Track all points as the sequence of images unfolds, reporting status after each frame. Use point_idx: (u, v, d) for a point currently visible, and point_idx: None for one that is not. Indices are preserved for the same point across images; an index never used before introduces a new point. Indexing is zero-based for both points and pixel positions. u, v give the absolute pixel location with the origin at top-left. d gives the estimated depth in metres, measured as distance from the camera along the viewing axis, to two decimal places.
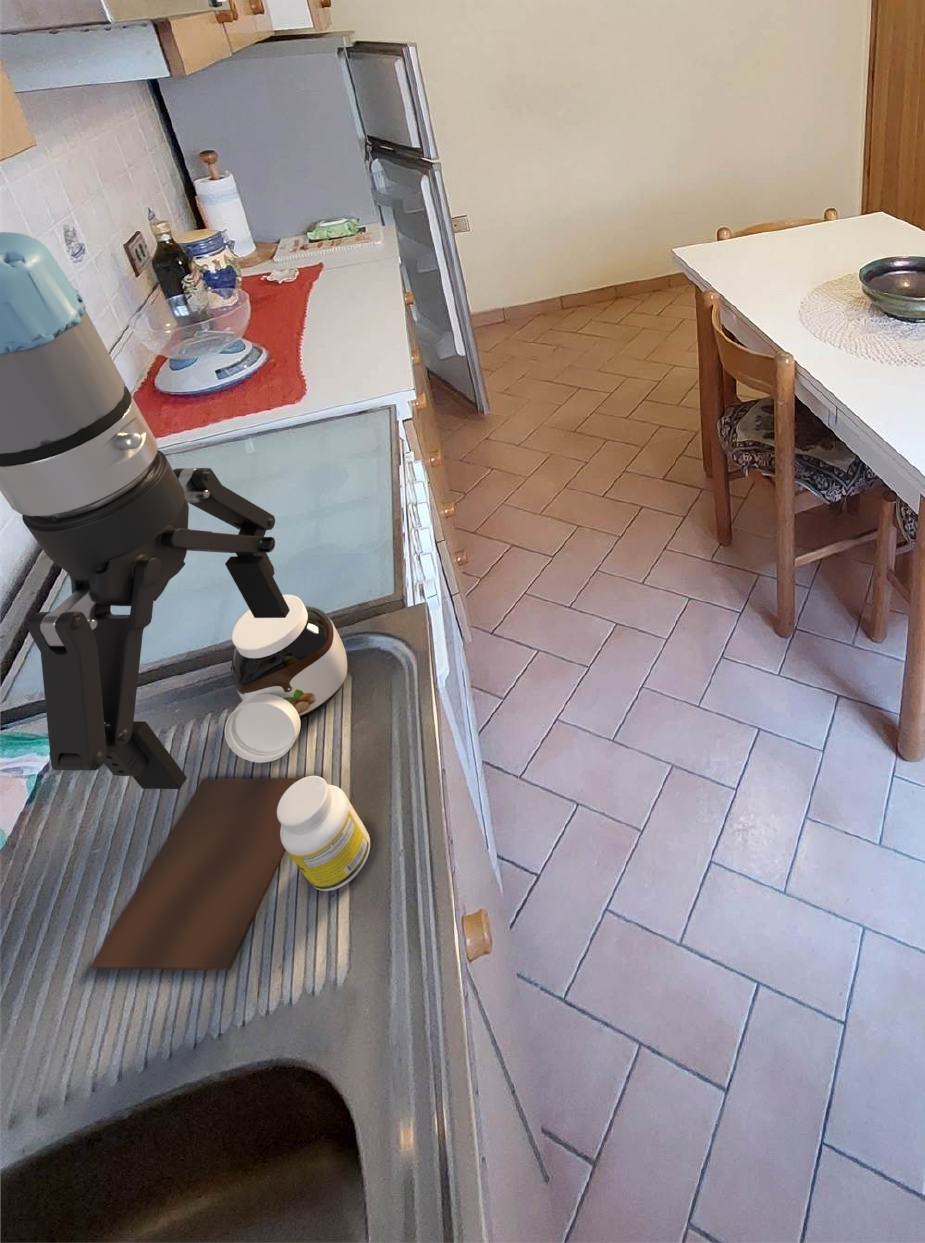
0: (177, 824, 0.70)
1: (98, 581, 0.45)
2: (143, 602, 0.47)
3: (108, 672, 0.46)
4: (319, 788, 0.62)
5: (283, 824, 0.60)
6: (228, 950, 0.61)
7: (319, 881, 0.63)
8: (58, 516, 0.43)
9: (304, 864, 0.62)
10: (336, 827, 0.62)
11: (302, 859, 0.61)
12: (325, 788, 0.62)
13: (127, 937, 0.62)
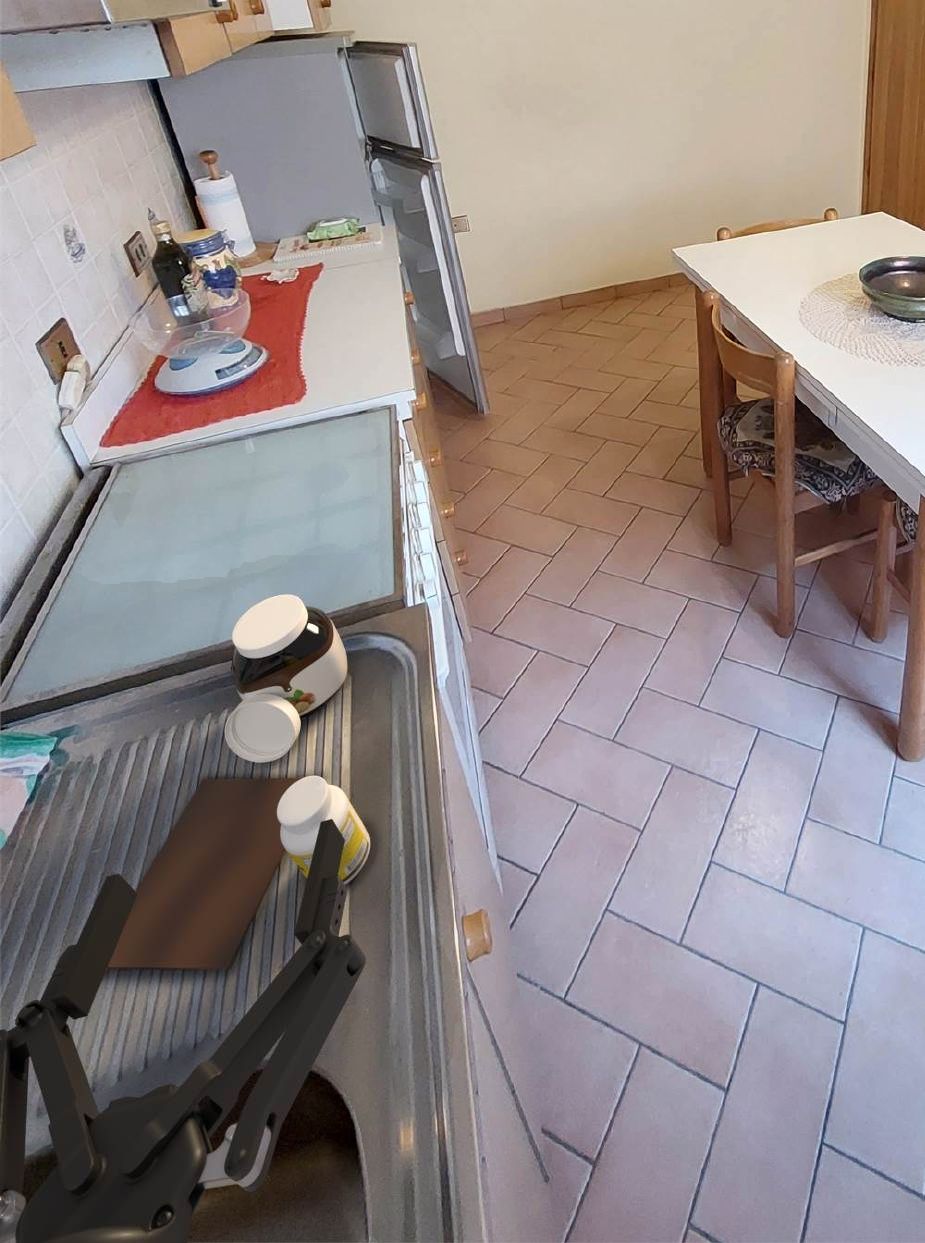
0: (177, 824, 0.70)
1: None
2: None
3: None
4: (319, 788, 0.62)
5: (283, 824, 0.60)
6: (228, 950, 0.61)
7: None
8: None
9: (304, 863, 0.62)
10: None
11: (302, 859, 0.61)
12: (325, 788, 0.62)
13: (127, 937, 0.62)
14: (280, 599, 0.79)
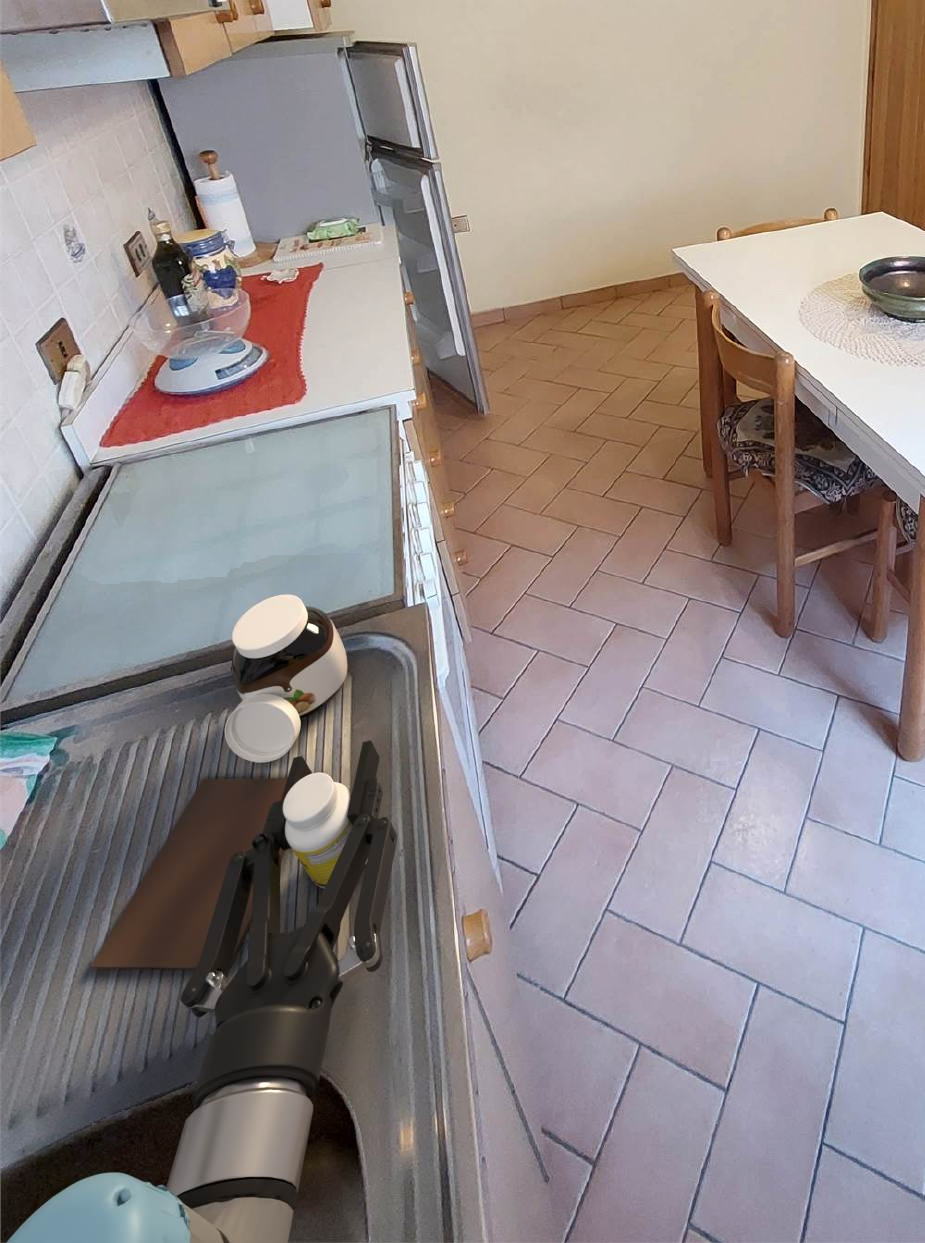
0: (177, 824, 0.70)
1: None
2: None
3: None
4: (325, 785, 0.63)
5: (289, 820, 0.60)
6: None
7: (321, 879, 0.63)
8: None
9: (308, 860, 0.62)
10: (340, 824, 0.62)
11: (306, 856, 0.61)
12: (331, 785, 0.62)
13: (127, 937, 0.62)
14: (280, 599, 0.79)
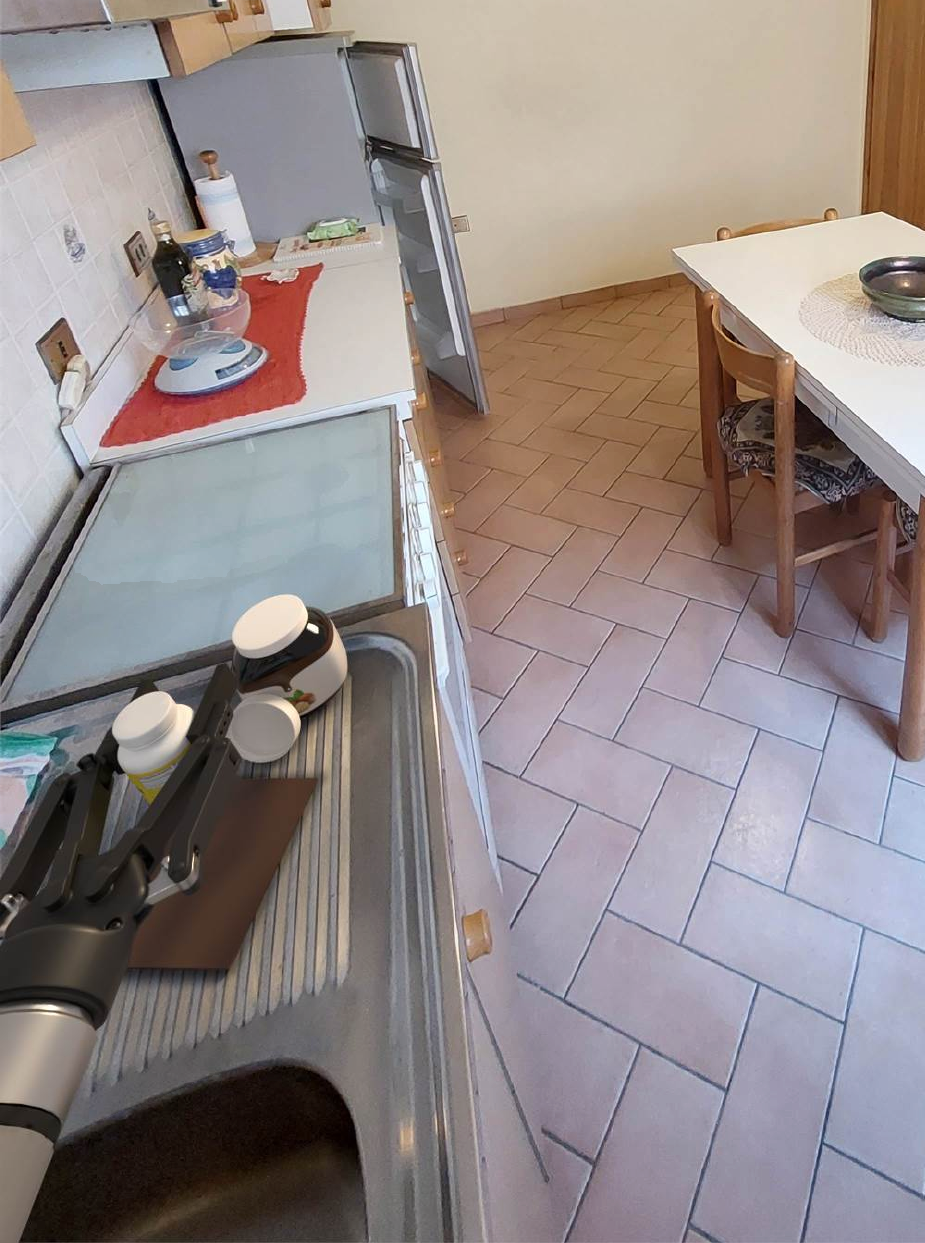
0: None
1: None
2: None
3: None
4: (162, 704, 0.58)
5: (116, 738, 0.56)
6: (228, 950, 0.61)
7: None
8: None
9: (142, 784, 0.57)
10: (178, 746, 0.57)
11: (138, 778, 0.57)
12: (169, 704, 0.58)
13: None
14: (280, 599, 0.79)
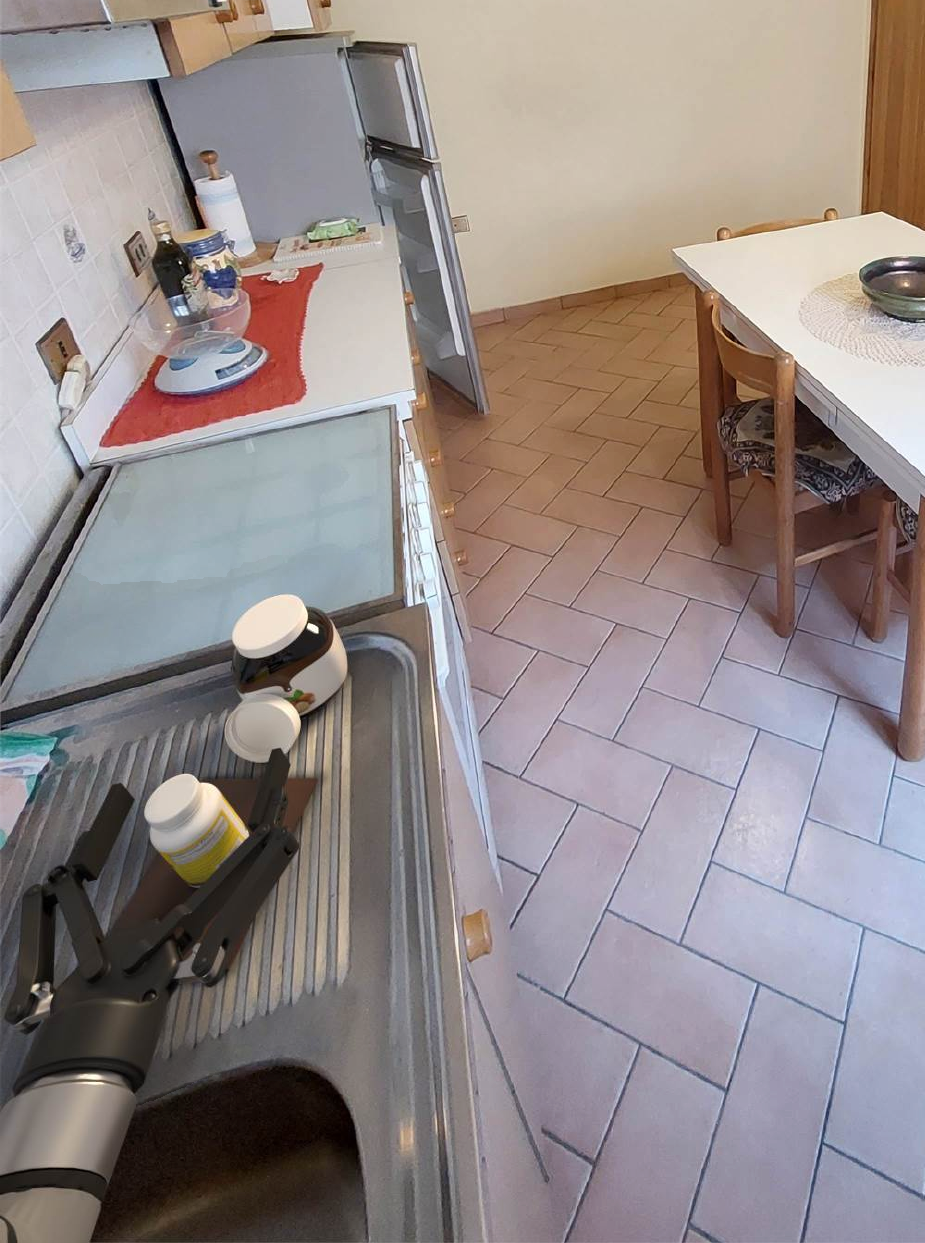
0: None
1: None
2: None
3: None
4: (189, 786, 0.63)
5: (148, 821, 0.61)
6: None
7: (190, 878, 0.64)
8: None
9: (172, 861, 0.62)
10: (204, 825, 0.63)
11: (169, 856, 0.62)
12: (195, 787, 0.63)
13: None
14: (280, 599, 0.79)
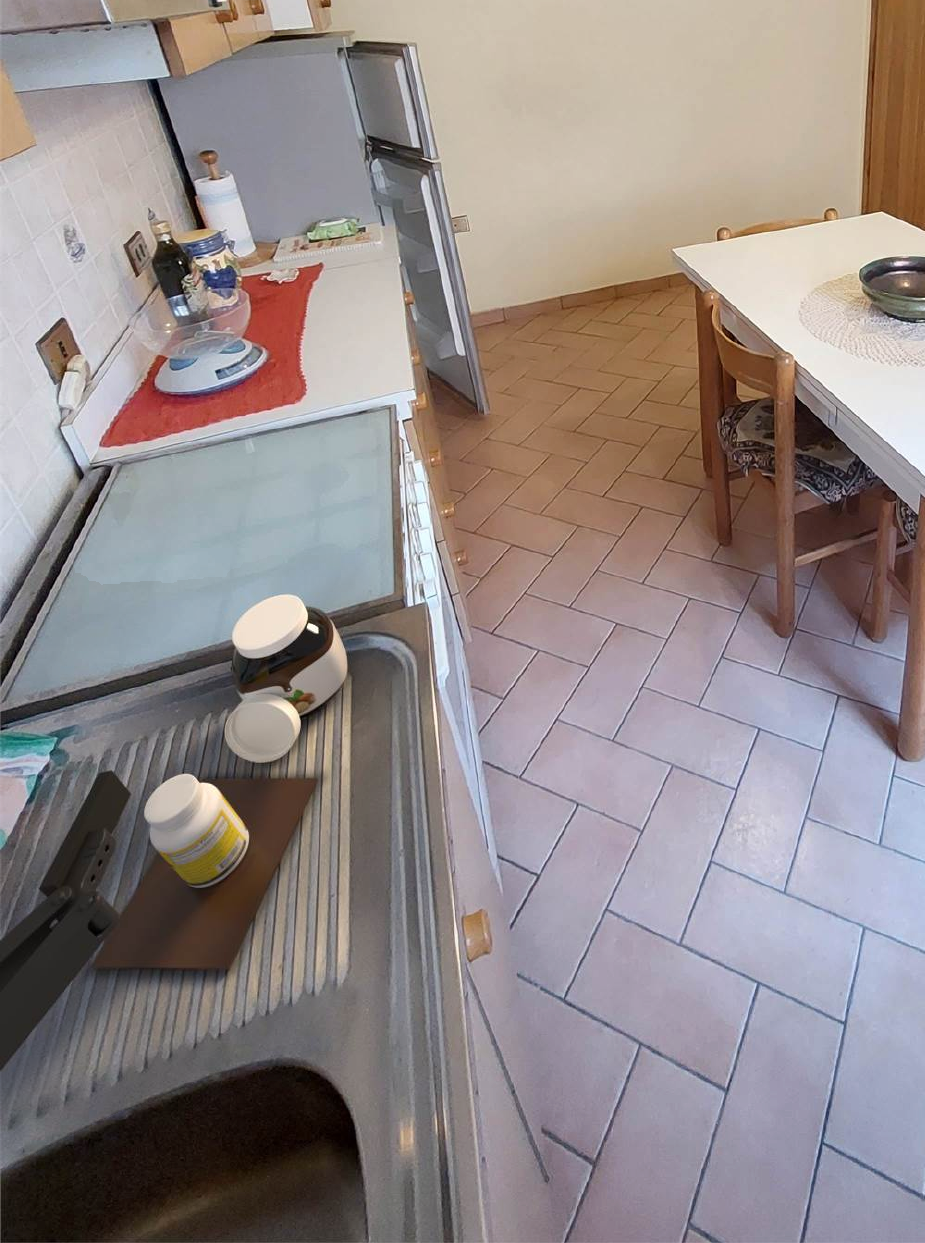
0: None
1: None
2: None
3: None
4: (189, 786, 0.63)
5: (148, 821, 0.61)
6: (228, 950, 0.61)
7: (190, 878, 0.64)
8: None
9: (172, 861, 0.62)
10: (204, 825, 0.63)
11: (169, 856, 0.62)
12: (195, 787, 0.63)
13: (127, 937, 0.62)
14: (280, 599, 0.79)
